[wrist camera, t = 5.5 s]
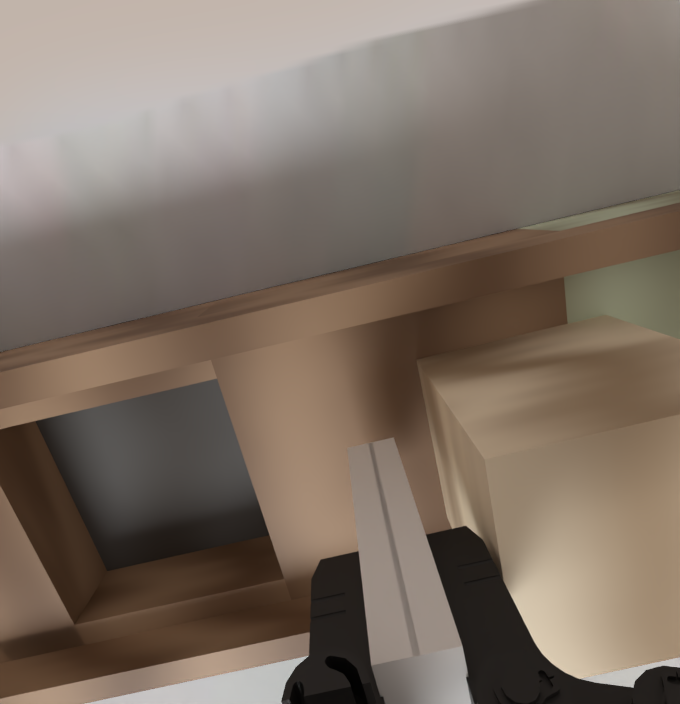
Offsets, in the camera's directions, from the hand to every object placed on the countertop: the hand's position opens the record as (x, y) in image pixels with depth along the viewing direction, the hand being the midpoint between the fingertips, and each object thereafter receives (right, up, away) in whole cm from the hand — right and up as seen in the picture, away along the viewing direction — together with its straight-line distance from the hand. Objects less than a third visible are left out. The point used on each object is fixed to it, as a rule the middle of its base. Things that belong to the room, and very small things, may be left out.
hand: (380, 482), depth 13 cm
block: (+5, +2, +1) cm, 5 cm away
